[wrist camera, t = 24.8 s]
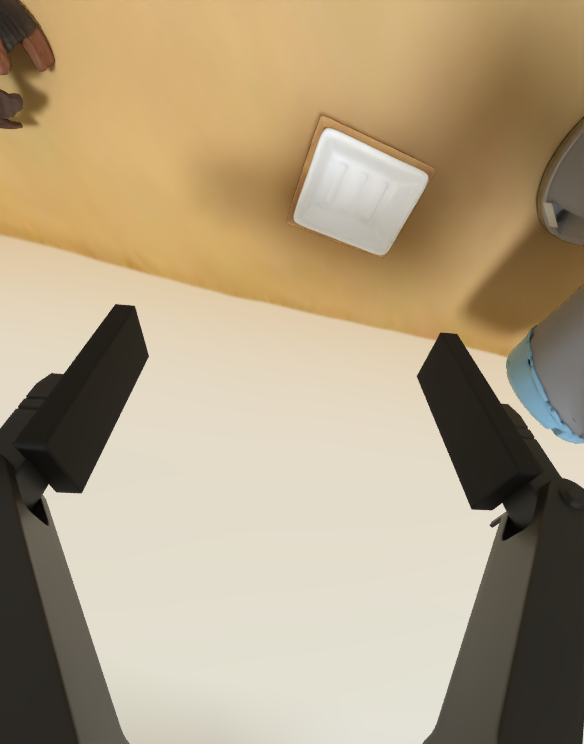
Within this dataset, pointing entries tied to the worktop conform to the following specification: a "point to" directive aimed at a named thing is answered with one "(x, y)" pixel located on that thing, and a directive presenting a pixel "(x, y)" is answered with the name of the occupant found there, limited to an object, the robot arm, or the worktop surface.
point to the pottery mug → (3, 32)
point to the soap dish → (356, 189)
